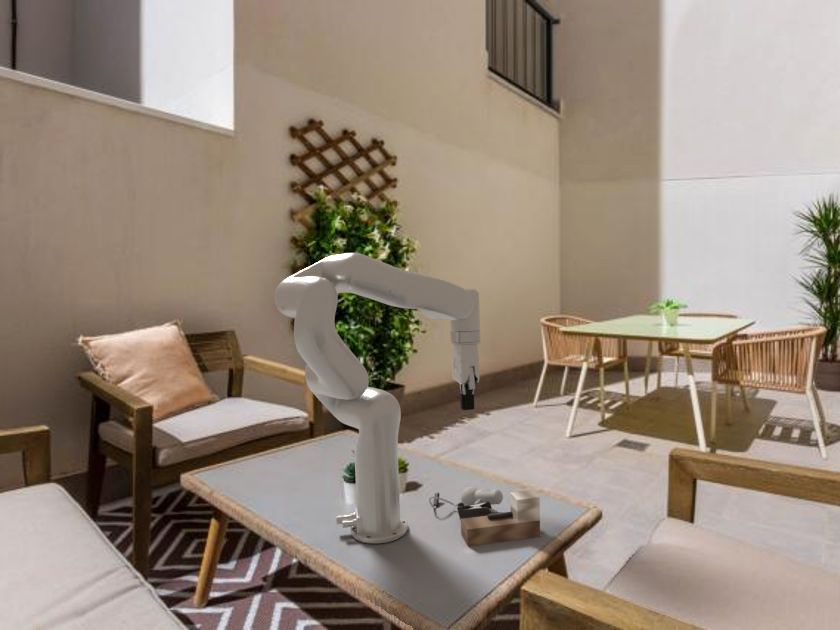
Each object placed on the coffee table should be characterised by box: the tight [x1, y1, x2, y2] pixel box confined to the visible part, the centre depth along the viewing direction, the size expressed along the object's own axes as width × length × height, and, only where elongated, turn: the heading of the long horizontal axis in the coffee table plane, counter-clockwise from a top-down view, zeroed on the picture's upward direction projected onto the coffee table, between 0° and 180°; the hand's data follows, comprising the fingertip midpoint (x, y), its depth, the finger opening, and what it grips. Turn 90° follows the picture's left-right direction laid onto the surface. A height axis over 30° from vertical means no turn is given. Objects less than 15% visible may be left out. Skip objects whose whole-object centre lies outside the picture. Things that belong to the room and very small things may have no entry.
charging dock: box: [460, 489, 541, 547], centre depth 111 cm, size 16×6×8 cm, turn 101°
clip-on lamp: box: [428, 486, 504, 522], centre depth 122 cm, size 12×6×18 cm
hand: (467, 408), depth 132 cm, fingers closed
